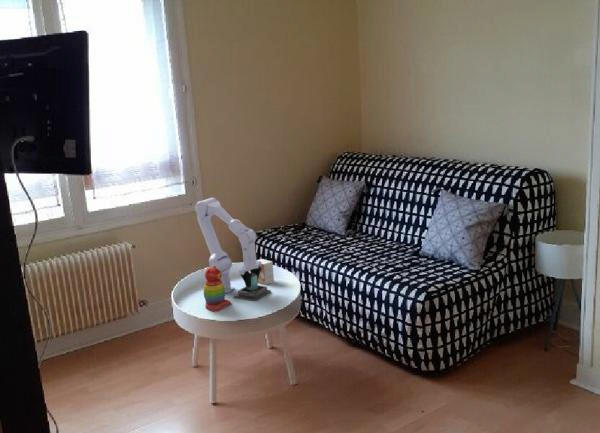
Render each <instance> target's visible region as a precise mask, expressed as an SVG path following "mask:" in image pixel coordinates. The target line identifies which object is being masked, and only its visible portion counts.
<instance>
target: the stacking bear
mask: <svg viewBox="0 0 600 433" xmlns="http://www.w3.org/2000/svg"><path fill="white" fill-rule="evenodd" d="M204 272H205V273H204V277H205V279H206V281H205V283H204V285H203V297H204V300H205V304H204V305H205V309H207V310H208V311H211V312H220V311H222V310H223V308H225V307H229V306H231V305H232V302H231V300H229V299H226V294H225V288H224V285H223V283H222V280H221V279H220V278H221V276H222V273H221V272H220V270H219V269H218V268H216V266H213V267H212V268H210V267H208V268H207V269H206V270H205V271H204Z"/></svg>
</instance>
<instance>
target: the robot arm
mask: <svg viewBox="0 0 600 433" xmlns="http://www.w3.org/2000/svg"><path fill="white" fill-rule="evenodd" d="M194 211H195V213H196V218H197V223H198V224H199V227H200V230H201V233H202V235H203V237H204V240H205V243H206V245H207V248H208V251H209V253H210V257H209V259H208V263H209V268H212V267H213V266H216V268H218V269H219V270H220V272H221V273H222V276H221V278H220V279H221V280H222V283H223V285H224V288H225V295H226V294H228V293H229V292H231V291H233V290H235V289H236V287H235V286H232V284H231V283H232V282H231V276H230V271H231V268H232V265H233V261H232V259H231V258H230V257H229V256H228V253H227V252H225V251H224V250H223V249H222V246H221V245H220V241H219V239H218V237H217V234H216V231H215V229H214V226H213V224H212V220H211V218H212V216H213V215H215V216H216V217H218V218H219V219H221V221H223V222H224V223H225V224H227V225H228V229H229V230H230V232H232V233H233V234H234V235H235V236H236V237H238V241H239V243H240V245H241V248H242V260H243V261H242V262H243V266H242V267H241V269H239V271H238V273H239V275H240V276H241V278H242V280H243V282H244V285H245V287H251V276H252V273H255V274H257V282H258V278H259V274H260V271H261V267H259V266H261V261H257V253H256V242H255V241H256V240H257V237H258V235H257V232H256V231H255V230H254V229H252V228H249V227H247V226H246V225H245V224H243V223H242V222H241V220H240V219H237V218H233V217H232V216H231V215H230V214H229V213H228V212H227V211H226V210H225V208H224V207H222V206H221V202H220V201H219V200H217V198H216V197H209V198H207V199H204V200H200V201H197V202H196V204H195V207H194ZM256 261H257V262H256Z"/></svg>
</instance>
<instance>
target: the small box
mask: <svg viewBox="0 0 600 433" xmlns="http://www.w3.org/2000/svg"><path fill="white" fill-rule="evenodd" d="M257 261H261V266H259V267H261V271H260V274H259V278H258V284H262V285H263V286H266V285H269V284H272V283H275V281H274V280H275V279H274V275H275V274H274V262H273V261H272V260H266V259H264V258H260V259H256V262H257Z"/></svg>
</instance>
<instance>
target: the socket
mask: <svg viewBox="0 0 600 433" xmlns="http://www.w3.org/2000/svg"><path fill="white" fill-rule="evenodd" d="M271 293H272V290H270V289H268V287H267V286H266V285H259V284H258V288H257V289H255V290H248V289H247V287H246V286H244V287H242V288H241V289H239V290H237V294H235V295H234V299H239V300H246V301H253V302H257V301H260V300H261V299H262V298H264V297H265V296H267V295H269V294H271Z"/></svg>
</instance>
